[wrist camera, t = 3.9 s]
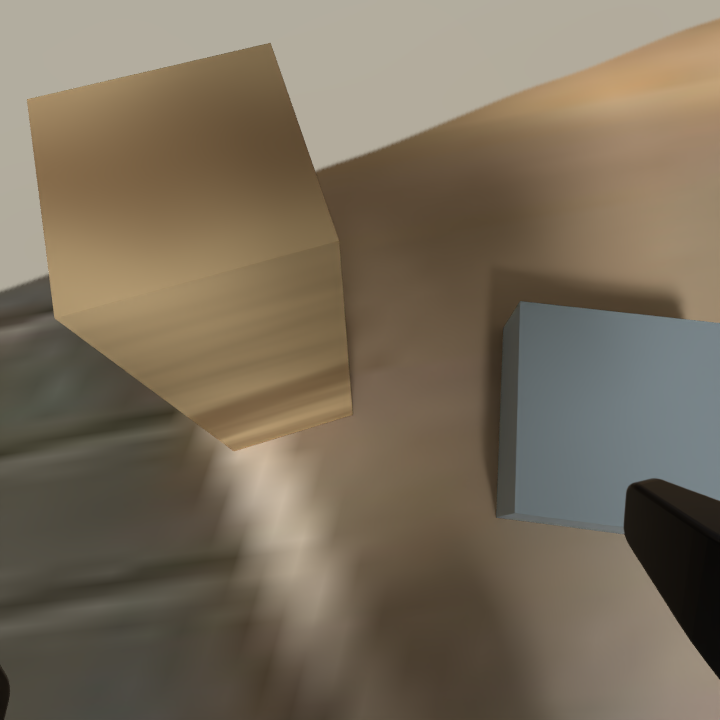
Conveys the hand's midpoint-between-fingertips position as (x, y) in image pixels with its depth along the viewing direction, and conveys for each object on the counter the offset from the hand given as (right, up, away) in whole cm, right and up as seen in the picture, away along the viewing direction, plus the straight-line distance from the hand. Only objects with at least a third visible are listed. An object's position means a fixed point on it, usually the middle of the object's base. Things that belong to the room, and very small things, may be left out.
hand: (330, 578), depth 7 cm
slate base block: (+10, 0, +14) cm, 18 cm away
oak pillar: (-3, +2, +15) cm, 15 cm away
